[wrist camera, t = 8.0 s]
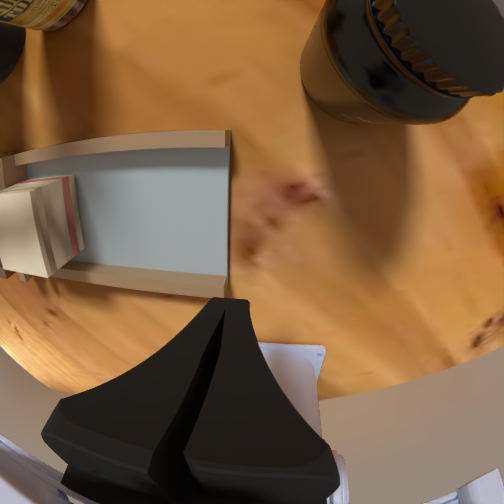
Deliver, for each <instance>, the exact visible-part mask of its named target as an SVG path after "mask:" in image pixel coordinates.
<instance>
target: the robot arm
mask: <svg viewBox="0 0 504 504" xmlns="http://www.w3.org/2000/svg"><path fill="white" fill-rule="evenodd" d="M318 354H320V355H318ZM325 354H326V347H325V346H324V345H301V344H279V343H263V342H258V341H257V338H256V335H255V332H254V329H253V325H252V321H251V317H250V302H249V301H248V300H245V299H232V298H221V297H213V298H211V299H210V300H209V301H208V303H207V304H206V305H205V306H204V307H203V308H202V310H201V311H200V312H199V313H198V314H197V315H196V316H195V317H194V318H193V319H192V320H191V321H190V322H189V323H188V324H187V325H186V326H185V328H184V329H183V330H181V331H180V332H179V333H178V334H177V335H176V336H175V337H174V338H173V339H172V340H170V341H169V342H168V343H167V344H166V345H165V346H163V347H162V348H161V349H160V350H159V351H157V352H156V353H155V354H153V355H152V356H150V357H149V358H148V359H146V360H145V361H143V362H142V363H140V364H139V365H137V366H136V367H134V368H132V369H131V370H129V371H127V372H125V373H124V374H122V375H120V376H118V377H116V378H114V379H112V380H110V381H108V382H106V383H104V384H102V385H99V386H97V387H95V388H92V389H90V390H87V391H84V392H81V393H78V394H75V395H72V396H69V397H67V398H63V399H61V400H60V401H59V403H58V404H57V406H56V407H55V409H54V410H53V412H52V414H51V416H50V418H49V419H48V421H47V423H46V425H45V426H44V428H43V430H42V432H41V435H42V438H43V440H44V442H45V443H46V444H47V445H48V446H49V447H50V448H51V449H52V450H53V451H54V452H55V453H56V454H57V455H58V456H59V457H60V458H61V459H63V460H64V461H65V462H66V463H67V464H68V466H67V469H66V471H65V473H64V474H63V473H61V472H59V471H58V470H56V469H54V468H52V467H50V466H49V465H47V464H45V463H44V462H42V461H40V460H39V459H37V458H35V457H34V456H32V455H30V454H29V453H27V452H26V451H24V450H23V449H21V448H20V447H18V446H17V445H16V444H14V443H13V442H11V441H10V440H8V439H7V438H6V437H4V436H3V435H2V434H0V504H73V503H71V502H70V501H69V500H68V497H67V495H68V496H71V497H72V498H74V499H76V500H78V501H80V502H82V503H84V504H349V489H348V477H347V470H346V464H345V461H344V458H343V457H342V456H341V455H340V454H338V453H337V451H335V450H331V448H330V446H329V445H328V444H327V443H326V442H325V440H324V439H322V433H321V423H320V412H319V403H318V393H317V384H316V383H317V380H318V377H319V374H320V371H321V367H322V364H323V361H324V357H325ZM66 494H67V495H66ZM423 504H504V487H503V483H502V480H501V477H500V474H499V471H498V469H497V468H494V469H492V470H491V471H489V472H487V473H485V474H483V475H481V476H479V477H477V478H475V479H473V480H471V481H470V482H468V483H466V484H465V485H463V486H462V487H460V488H459V489H458V490H457V491H454V492H452V493H450V494H447V495H445V496H442V497H440V498H437V499H434V500H431V501H429V502H426V503H423Z"/></svg>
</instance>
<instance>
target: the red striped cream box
mask: <svg viewBox="0 0 504 504" xmlns="http://www.w3.org/2000/svg"><path fill="white" fill-rule="evenodd" d="M84 248H85V246H84V240H83V235H82V229H81V223H80V216H79V209H78V202H77V194H76V184H75V174H73V175H63V176H54V177H45V178H37V179H29V180H26V181H21V182H19V183H16V184H15V185H13V186H10V187H8V188H5V189H3V190H1V191H0V259H1V262H2V266H3V269H6V270H10V271H15V272H20V273H25V274H30V275H35V276H40V277H46V278H49V277H50V276H51V275H54V274H55V273H56V272H57V271H58V269H60V268H61V267H62V266H63V265H64V264H66V263H67V262H68V261H69V260H70V259H72V258H73V257H75V256H77V255H78V254H79V253H80V251H82V250H83V249H84Z"/></svg>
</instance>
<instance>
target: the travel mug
mask: <svg viewBox="0 0 504 504" xmlns="http://www.w3.org/2000/svg"><path fill="white" fill-rule="evenodd" d="M24 39H25V27H21V26H16V25H12V24H8V23H3V22H0V83H1V82H2V81H4V80H5V79H6V78H7V76H8V75H9V74H10V73H11V71H12V70H13V68H14V66H15V64H16V63H17V60H18V58H19V56H20V54H21V51H22V48H23V44H24Z"/></svg>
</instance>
